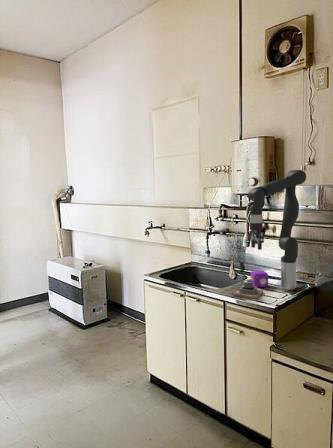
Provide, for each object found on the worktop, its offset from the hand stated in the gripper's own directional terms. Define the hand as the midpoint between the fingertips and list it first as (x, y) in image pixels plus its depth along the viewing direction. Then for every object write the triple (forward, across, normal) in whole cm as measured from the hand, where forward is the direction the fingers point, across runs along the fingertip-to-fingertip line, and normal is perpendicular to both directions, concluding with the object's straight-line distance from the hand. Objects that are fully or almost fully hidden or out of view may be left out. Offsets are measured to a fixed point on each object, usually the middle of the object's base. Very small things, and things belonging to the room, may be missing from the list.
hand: (256, 248), depth 209 cm
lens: (+26, 0, +6) cm, 27 cm away
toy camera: (+28, +13, -9) cm, 33 cm away
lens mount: (+28, 0, +6) cm, 29 cm away
